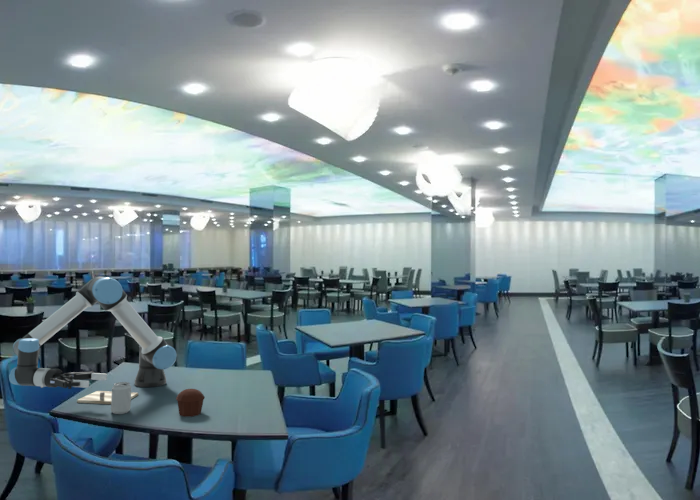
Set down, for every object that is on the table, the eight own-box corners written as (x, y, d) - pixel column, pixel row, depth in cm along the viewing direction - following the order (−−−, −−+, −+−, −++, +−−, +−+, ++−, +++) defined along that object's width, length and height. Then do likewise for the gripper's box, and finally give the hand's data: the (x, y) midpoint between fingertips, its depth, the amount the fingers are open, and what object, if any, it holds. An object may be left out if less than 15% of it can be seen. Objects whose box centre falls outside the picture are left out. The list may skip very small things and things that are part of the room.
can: (134, 410, 216) (135, 382, 217) (121, 415, 209) (122, 386, 209) (120, 408, 219) (121, 380, 219) (106, 413, 212) (107, 384, 212)
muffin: (209, 411, 219) (210, 387, 219) (195, 418, 208) (196, 394, 208) (184, 408, 222) (185, 385, 222) (169, 416, 211) (170, 391, 211)
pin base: (97, 393, 241) (97, 384, 241) (138, 395, 240) (138, 386, 240) (76, 402, 225) (77, 393, 225) (121, 404, 224) (121, 395, 224)
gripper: (66, 380, 228) (112, 382, 227) (28, 393, 203) (79, 397, 202) (67, 363, 228) (113, 365, 227) (29, 374, 203) (81, 377, 202)
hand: (97, 380), depth 214 cm, fingers open, 13 cm apart
